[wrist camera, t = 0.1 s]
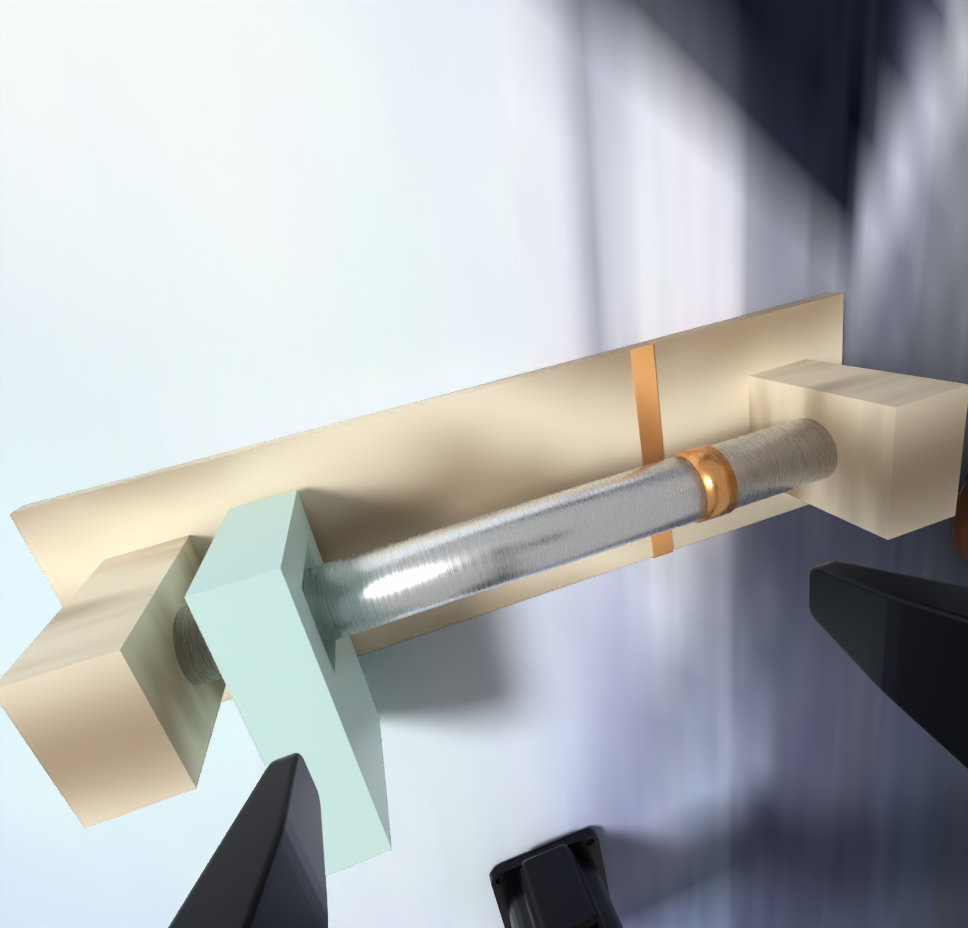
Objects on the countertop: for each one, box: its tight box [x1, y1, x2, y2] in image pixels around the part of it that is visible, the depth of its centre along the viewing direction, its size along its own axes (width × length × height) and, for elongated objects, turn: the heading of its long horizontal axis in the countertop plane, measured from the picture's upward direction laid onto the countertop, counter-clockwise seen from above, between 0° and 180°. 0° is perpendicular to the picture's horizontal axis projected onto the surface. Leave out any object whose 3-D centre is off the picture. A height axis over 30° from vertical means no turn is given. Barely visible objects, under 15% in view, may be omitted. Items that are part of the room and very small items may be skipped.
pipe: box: [173, 418, 838, 685], centre depth 20 cm, size 3×30×3 cm, turn 102°
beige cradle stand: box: [0, 293, 968, 828], centre depth 20 cm, size 10×34×8 cm, turn 102°
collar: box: [184, 490, 392, 876], centre depth 19 cm, size 11×2×6 cm, turn 12°
